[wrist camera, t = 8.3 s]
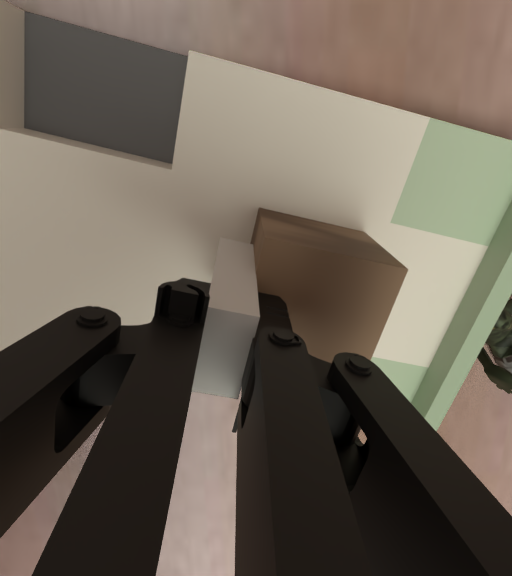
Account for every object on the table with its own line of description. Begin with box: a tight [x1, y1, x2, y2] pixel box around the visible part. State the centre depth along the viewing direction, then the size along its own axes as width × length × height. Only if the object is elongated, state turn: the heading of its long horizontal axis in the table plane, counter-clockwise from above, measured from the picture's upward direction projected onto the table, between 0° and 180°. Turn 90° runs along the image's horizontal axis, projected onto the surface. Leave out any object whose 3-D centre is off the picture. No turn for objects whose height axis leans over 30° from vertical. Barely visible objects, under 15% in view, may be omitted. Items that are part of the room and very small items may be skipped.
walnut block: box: [250, 208, 408, 363], centre depth 16 cm, size 5×5×5 cm
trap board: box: [0, 0, 512, 431], centre depth 18 cm, size 32×16×4 cm, turn 76°
